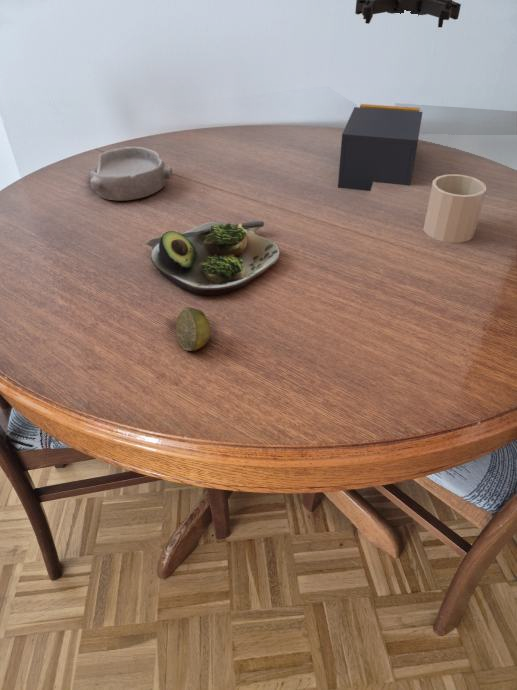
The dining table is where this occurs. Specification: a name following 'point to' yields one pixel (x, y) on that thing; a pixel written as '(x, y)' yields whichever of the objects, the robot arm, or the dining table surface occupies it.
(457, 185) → the cup
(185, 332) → the lime
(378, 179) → the cabinet
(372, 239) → the dining table surface
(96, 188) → the dish
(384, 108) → the drawer
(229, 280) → the salad plate
